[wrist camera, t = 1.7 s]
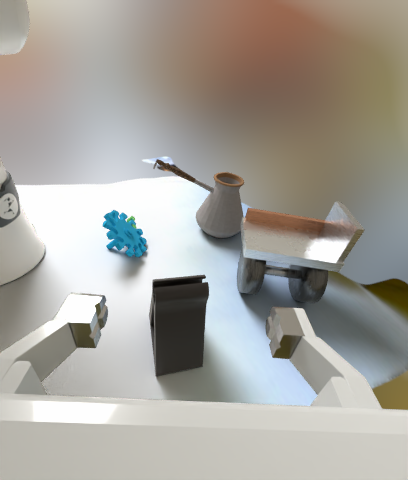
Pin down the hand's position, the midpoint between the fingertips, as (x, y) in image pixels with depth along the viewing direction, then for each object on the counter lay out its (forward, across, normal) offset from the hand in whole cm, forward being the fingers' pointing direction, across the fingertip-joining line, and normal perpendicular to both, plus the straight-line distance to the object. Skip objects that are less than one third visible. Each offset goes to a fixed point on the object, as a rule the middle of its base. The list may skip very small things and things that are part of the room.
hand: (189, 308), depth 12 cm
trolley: (+25, -16, +21) cm, 37 cm away
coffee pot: (+41, -2, +20) cm, 46 cm away
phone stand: (+12, +1, +22) cm, 25 cm away
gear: (+31, +12, +20) cm, 39 cm away
